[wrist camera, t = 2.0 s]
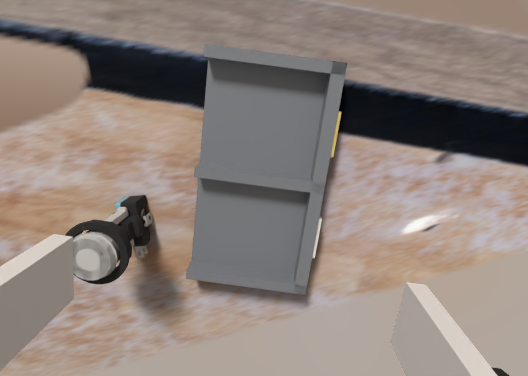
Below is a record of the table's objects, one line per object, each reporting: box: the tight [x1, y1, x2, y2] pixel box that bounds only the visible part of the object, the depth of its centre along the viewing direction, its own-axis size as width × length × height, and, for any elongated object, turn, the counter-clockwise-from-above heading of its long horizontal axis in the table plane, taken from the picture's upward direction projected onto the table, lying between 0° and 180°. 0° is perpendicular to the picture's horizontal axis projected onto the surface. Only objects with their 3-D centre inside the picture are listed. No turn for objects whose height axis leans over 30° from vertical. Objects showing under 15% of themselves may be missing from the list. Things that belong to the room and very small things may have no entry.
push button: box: [65, 195, 152, 284], centre depth 32 cm, size 7×5×10 cm
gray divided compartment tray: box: [186, 44, 347, 295], centre depth 33 cm, size 12×22×3 cm, turn 172°
